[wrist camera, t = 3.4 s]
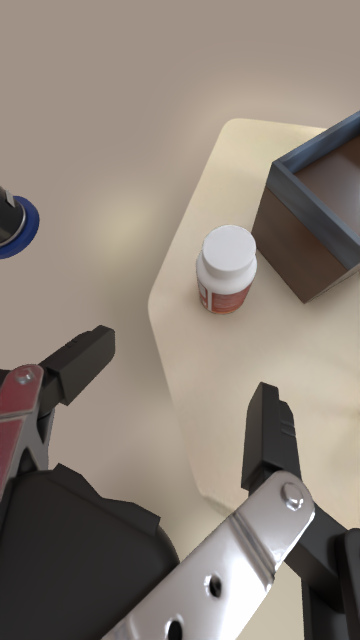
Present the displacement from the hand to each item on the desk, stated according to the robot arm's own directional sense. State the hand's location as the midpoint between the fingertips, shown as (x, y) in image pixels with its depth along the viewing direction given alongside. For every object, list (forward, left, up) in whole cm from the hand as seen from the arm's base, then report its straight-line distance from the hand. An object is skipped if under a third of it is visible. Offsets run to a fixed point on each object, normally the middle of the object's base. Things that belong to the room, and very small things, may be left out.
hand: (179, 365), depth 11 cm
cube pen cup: (+22, +6, -16) cm, 29 cm away
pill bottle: (+8, +7, -17) cm, 20 cm away
